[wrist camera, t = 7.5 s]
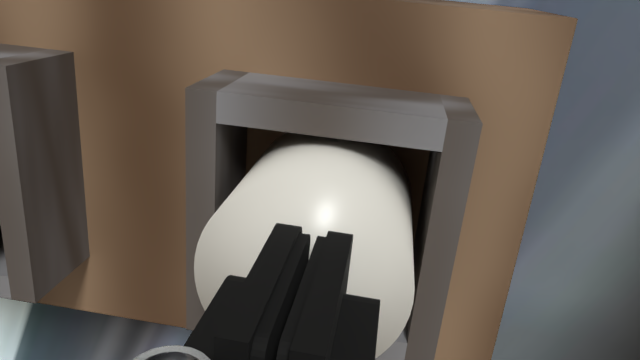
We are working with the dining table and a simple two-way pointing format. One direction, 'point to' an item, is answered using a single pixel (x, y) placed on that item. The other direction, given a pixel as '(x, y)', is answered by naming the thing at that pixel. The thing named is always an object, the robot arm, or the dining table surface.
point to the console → (266, 141)
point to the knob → (321, 219)
